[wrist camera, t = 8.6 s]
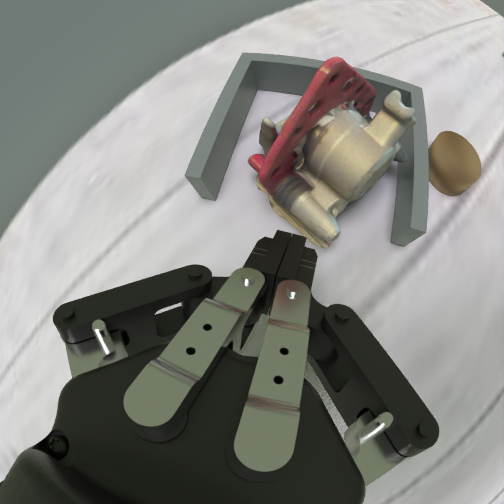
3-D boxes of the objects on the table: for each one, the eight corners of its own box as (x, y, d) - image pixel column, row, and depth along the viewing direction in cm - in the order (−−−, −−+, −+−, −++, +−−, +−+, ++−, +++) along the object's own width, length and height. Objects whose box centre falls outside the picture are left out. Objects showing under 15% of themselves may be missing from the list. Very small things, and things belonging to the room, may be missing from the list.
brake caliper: (307, 73, 21) (398, 25, 10) (368, 167, 25) (469, 177, 14) (206, 142, 20) (246, 109, 9) (286, 242, 25) (373, 297, 14)
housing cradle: (409, 114, 21) (421, 88, 17) (404, 246, 19) (426, 232, 15) (249, 81, 24) (242, 52, 20) (202, 197, 22) (184, 175, 18)
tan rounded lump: (464, 158, 19) (477, 143, 17) (466, 203, 19) (483, 191, 16) (422, 141, 20) (433, 123, 18) (422, 186, 20) (436, 170, 17)
